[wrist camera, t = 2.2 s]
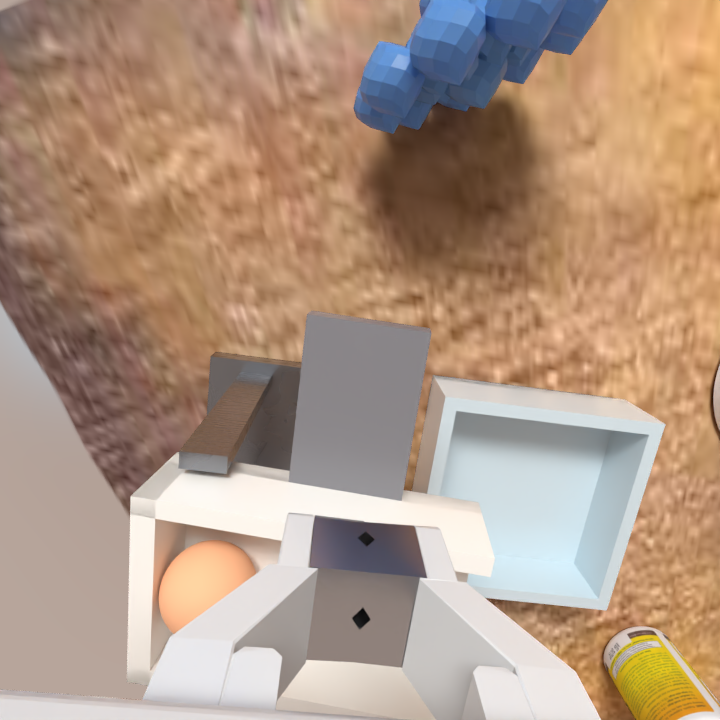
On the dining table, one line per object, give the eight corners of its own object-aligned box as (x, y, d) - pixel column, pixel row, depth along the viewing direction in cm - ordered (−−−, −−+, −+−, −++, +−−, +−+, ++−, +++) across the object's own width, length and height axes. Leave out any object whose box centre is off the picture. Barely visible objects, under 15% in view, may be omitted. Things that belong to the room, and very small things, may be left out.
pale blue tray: (625, 399, 34) (665, 424, 30) (576, 566, 37) (606, 610, 33) (433, 375, 33) (445, 396, 29) (401, 547, 37) (408, 589, 32)
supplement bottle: (586, 662, 40) (665, 805, 30) (626, 611, 38) (722, 743, 29) (641, 687, 40) (735, 834, 31) (682, 638, 39) (794, 774, 29)
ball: (280, 559, 20) (186, 598, 17) (271, 637, 21) (181, 687, 18) (232, 511, 23) (144, 539, 20) (226, 583, 24) (142, 619, 21)
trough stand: (305, 363, 33) (277, 444, 20) (286, 531, 36) (252, 691, 23) (215, 351, 32) (130, 427, 20) (204, 522, 36) (125, 680, 23)
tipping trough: (514, 341, 20) (541, 365, 16) (443, 663, 24) (450, 743, 20) (184, 291, 21) (134, 303, 17) (169, 613, 25) (126, 681, 21)
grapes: (521, -30, 27) (648, -224, 16) (552, 95, 29) (687, 4, 17) (327, 51, 28) (311, -76, 17) (368, 168, 30) (380, 128, 18)
